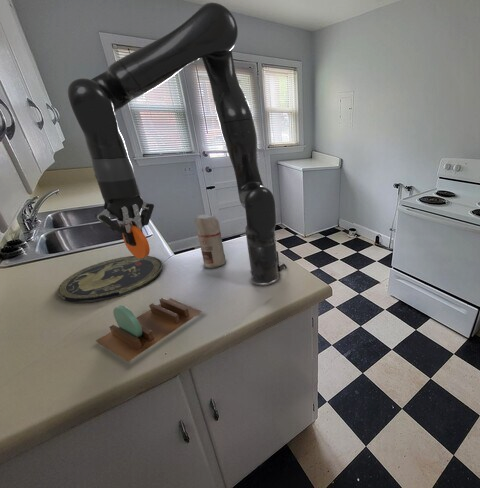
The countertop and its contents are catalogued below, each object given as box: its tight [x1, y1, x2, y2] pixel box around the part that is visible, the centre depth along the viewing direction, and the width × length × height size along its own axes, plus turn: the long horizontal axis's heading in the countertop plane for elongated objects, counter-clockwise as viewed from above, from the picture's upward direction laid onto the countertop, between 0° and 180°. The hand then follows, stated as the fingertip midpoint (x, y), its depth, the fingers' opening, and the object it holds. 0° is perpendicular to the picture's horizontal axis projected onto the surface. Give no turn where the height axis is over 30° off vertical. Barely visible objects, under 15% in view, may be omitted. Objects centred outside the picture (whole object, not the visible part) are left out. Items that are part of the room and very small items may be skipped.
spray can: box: [193, 213, 227, 269], centre depth 102 cm, size 8×8×20 cm
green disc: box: [112, 304, 142, 338], centre depth 65 cm, size 1×9×9 cm, turn 63°
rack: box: [95, 297, 203, 362], centre depth 71 cm, size 20×14×4 cm
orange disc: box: [121, 224, 151, 259], centre depth 71 cm, size 1×9×9 cm, turn 64°
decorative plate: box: [57, 255, 164, 304], centre depth 96 cm, size 30×2×30 cm
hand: (136, 243), depth 71 cm, fingers closed on orange disc, 1 cm apart
